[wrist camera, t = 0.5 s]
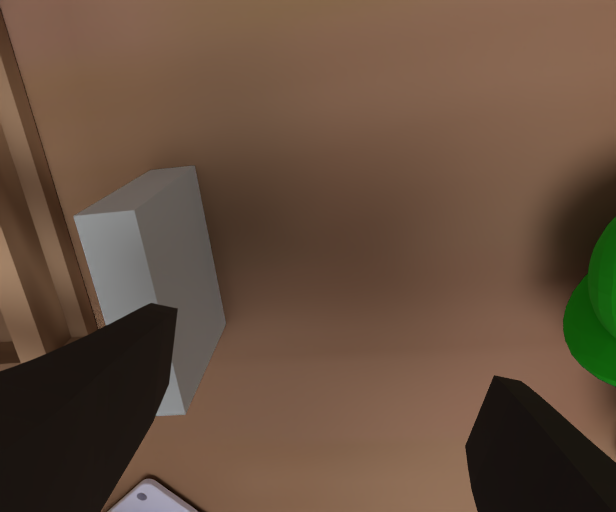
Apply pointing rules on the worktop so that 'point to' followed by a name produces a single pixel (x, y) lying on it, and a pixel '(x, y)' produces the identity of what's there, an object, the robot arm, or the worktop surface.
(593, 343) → the toy
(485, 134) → the worktop surface
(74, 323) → the sill track
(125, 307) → the grey rectangular block
